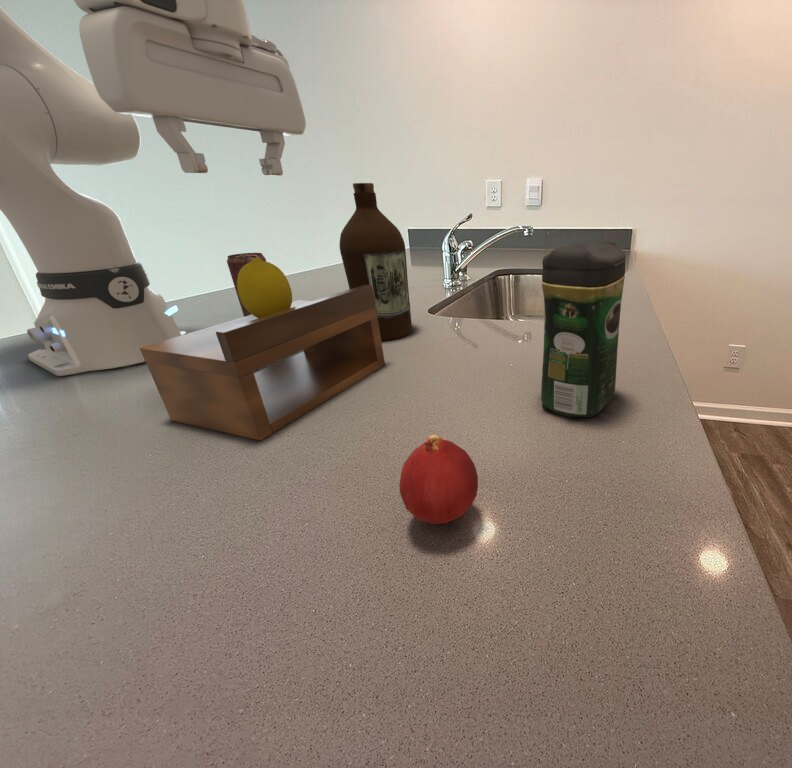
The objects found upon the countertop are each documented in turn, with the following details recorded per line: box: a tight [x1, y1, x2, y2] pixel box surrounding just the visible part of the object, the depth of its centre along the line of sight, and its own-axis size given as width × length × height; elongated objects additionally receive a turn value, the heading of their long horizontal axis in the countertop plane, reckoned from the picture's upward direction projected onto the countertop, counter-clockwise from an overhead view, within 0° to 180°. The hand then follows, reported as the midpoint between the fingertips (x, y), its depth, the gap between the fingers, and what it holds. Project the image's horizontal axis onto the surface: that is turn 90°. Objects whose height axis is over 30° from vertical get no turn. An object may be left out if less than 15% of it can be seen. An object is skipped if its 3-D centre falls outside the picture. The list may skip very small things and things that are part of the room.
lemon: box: [237, 258, 293, 318], centre depth 49 cm, size 6×6×8 cm
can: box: [226, 252, 267, 317], centre depth 77 cm, size 6×6×14 cm
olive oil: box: [339, 182, 413, 342], centre depth 70 cm, size 11×11×25 cm
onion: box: [399, 434, 479, 525], centre depth 30 cm, size 6×6×8 cm
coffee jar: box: [540, 239, 627, 418], centre depth 46 cm, size 10×8×19 cm
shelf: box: [140, 285, 386, 442], centre depth 52 cm, size 14×22×12 cm, turn 160°
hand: (238, 174), depth 46 cm, fingers open, 8 cm apart
